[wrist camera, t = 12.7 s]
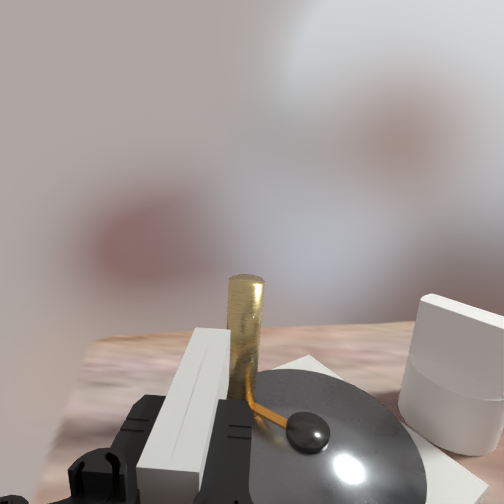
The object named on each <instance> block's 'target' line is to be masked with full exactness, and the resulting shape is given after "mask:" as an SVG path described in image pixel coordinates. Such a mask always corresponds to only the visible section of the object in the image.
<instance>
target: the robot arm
mask: <svg viewBox="0 0 504 504" xmlns="http://www.w3.org/2000/svg"><path fill="white" fill-rule="evenodd" d="M230 333H231V330H226V329H211V328H195V330H194V333H193V335H192V337H191V340H190V342H189V344H188V347H187V349H186V351H185V354H184V356H183V358H182V361H181V363H180V365H179V368H178V370H177V373H176V375H175V377H174V380H173V382H172V384H171V387H170V389H169V391H168V394H167V396H158V395H144V396H143V397H142V398H141V399H140V400H139V401H137V402H136V403H135V404H134V405H133V407H132V408H131V410H130V412H129V414H128V416H127V418H126V421H124V423H123V425H122V427H121V429H120V431H119V432H118V434H117V436H116V438H115V440H114V442H113V443H112V445H111V447H110V448H99V449H96V450H93V451H90V452H88V453H86V454H84V455H83V456H81V457H80V458H78V459H77V460H76V461H75V462H74V463H73V464H72V465H71V466H70V468H69V469H68V476H69V483H70V490H71V496H70V497H68V498H66V499H63V500H60V501H57V502H53V503H49V504H254V503H253V501H252V499H251V496H250V493H249V473H250V456H251V440H252V423H253V412H252V410H251V407H250V405H249V403H248V401H238V400H226V397H227V391H228V386H229V363H230ZM0 504H29V503H28V501H27V500H26V499H25V498H23V497H22V496H16V495H8V496H4V497H0Z"/></svg>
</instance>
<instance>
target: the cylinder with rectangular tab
mask: <svg viewBox="0 0 504 504" xmlns="http://www.w3.org/2000/svg"><path fill="white" fill-rule="evenodd" d="M398 408H399V411H400V414H401V415H402V417H403V418H404V420H405V421H406V423H407V424H408V425H409V426H410V427H411V428H412V429H413V430H414V431H415V432H417V433H418V434H419V435H421V436H422V437H423V438H425V439H426V440H428V441H429V442H431V443H433V444H435V445H437V446H439V447H440V448H443V449H446V450H448V451H451V452H454V453H457V454H462V455H467V456H483V455H486V454H490V453H492V452H493V451H494V450H495V449H496V448H497V445H498V442H499V439H500V436H501V433H502V430H503V427H504V317H503V316H500V315H497V314H494V313H491V312H488V311H484V310H482V309H478V308H475V307H472V306H469V305H466V304H463V303H460V302H457V301H454V300H451V299H447V298H445V297H442V296H438V295H435V294H428V295H425V296H423V297H422V298H421V300H420V304H419V309H418V313H417V318H416V322H415V327H414V331H413V336H412V340H411V345H410V349H409V354H408V359H407V363H406V368H405V372H404V377H403V381H402V386H401V390H400V395H399V400H398Z"/></svg>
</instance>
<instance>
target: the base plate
mask: <svg viewBox="0 0 504 504" xmlns="http://www.w3.org/2000/svg"><path fill="white" fill-rule="evenodd" d="M274 369H300V370H308V371H313V372H318V373H322V374H326V375H329V376H332V377H335V378H338V379H340V380H343V379H341V378H340V377H339V376H337V375H336V374H335V373H333V372H332V371H331V370H329V369H328V368H326V367H325V366H324V365H322V364H321V363H320V362H318V361H317V360H315V359H314V358H313V357H311V356H310V355H308V356H305V357H302V358H300V359H297V360H294V361H292V362H289V363H287V364H284V365H281V366H279V367H276V368H274ZM274 369H271V370H274ZM343 381H344V380H343ZM345 382H346V381H345ZM400 422H401V421H400ZM401 423H402V422H401ZM402 425H403V426H404V427H405V429H406V430H407V431H408V433H409V434H410V436H411V437H412V439H413V441H414V443H415V444H416V446H417V448H418V451H419V453H420V455H421V458H422V460H423V464H424V468H425V472H426V479H427V498H426V503H425V504H480V503H481V502H482V501H483V499H484V498H485V496H486V493H487V490H488V487H489V485H487V484H486V483H484V482H483V481H482V480H480V479H479V478H478V477H476V476H475V475H473V474H472V473H471V472H469V471H468V470H467V469H465V468H464V467H462V466H461V465H460V464H458V463H457V462H456V461H454V460H453V459H451V458H450V457H449V456H447V455H446V454H445V453H443V452H442V451H440V450H439V449H438V448H436V447H435V446H434V445H432V444H431V443H429V442H428V441H427V440H425V439H424V438H423V437H421V436H420V435H418V434H417V433H416V432H414V431H413V430H412V429H410V428H409V427H407V426H406V425H405V424H403V423H402Z"/></svg>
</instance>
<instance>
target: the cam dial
mask: <svg viewBox="0 0 504 504" xmlns="http://www.w3.org/2000/svg"><path fill="white" fill-rule="evenodd" d="M263 293H264V280H263V279H262V278H261V277H258V276H255V275H249V274H239V275H234V276H232V277H230V278H229V290H228V314H227V330H231V333H230V363H229V386H228V391H227V397H226V400H238V401H248V403H249V405H250V407H251V410H252V412H253V423H252V440H251V456H250V473H249V493H250V496H251V499H252V501H253V503H254V504H425V503H426V498H427V479H426V472H425V468H424V464H423V460H422V458H421V455H420V453H419V451H418V448H417V446H416V444H415V443H414V441H413V439H412V437H411V436H410V434H409V433H408V431H407V430H406V429H405V427H404V426H403V425H402V423H401V422H400V421H399V420H398V419H397V418H396V417H395V416H394V414H392V413H391V412H390V411H389V410H388V409H387V408H386V407H385V406H384V405H383V404H381V403H380V402H379V401H377V400H376V399H375V398H374V397H372V396H371V395H369V394H368V393H366V392H365V391H363V390H361V389H359V388H357V387H356V386H354V385H352V384H350V383H347V382H345V381H343V380H340V379H338V378H335V377H332V376H329V375H326V374H322V373H318V372H313V371H308V370H300V369H274V370H267V371H262V372H257V370H258V358H259V345H260V332H261V318H262V306H263Z"/></svg>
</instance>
